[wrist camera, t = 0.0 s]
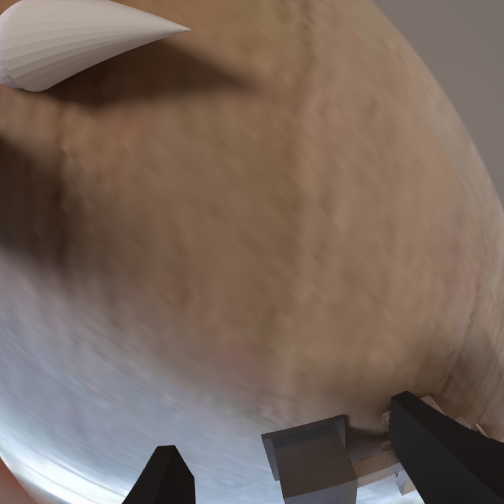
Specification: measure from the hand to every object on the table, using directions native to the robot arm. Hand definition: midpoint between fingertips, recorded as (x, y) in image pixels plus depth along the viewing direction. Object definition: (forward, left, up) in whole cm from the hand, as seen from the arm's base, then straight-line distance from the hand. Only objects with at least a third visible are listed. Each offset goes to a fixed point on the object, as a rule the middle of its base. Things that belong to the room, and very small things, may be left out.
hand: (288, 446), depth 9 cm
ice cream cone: (+18, +7, -10) cm, 22 cm away
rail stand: (-13, -6, -10) cm, 18 cm away
